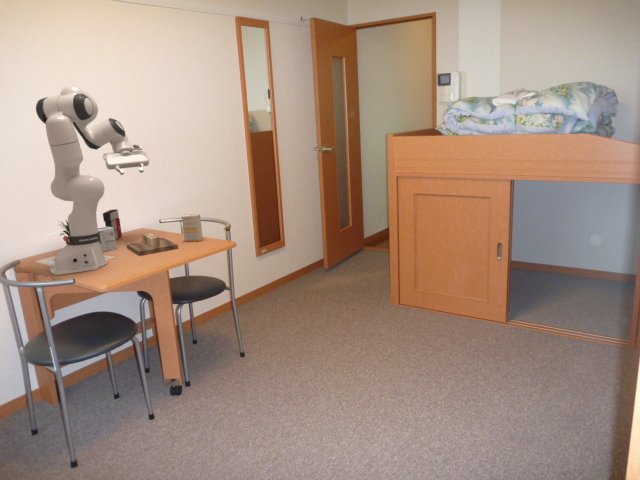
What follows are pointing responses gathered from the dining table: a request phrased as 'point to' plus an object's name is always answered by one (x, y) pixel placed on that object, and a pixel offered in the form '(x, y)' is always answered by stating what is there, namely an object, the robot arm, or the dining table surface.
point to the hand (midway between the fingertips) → (132, 172)
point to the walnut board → (145, 249)
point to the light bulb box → (107, 238)
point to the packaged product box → (113, 222)
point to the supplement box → (192, 227)
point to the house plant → (65, 228)
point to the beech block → (151, 240)
